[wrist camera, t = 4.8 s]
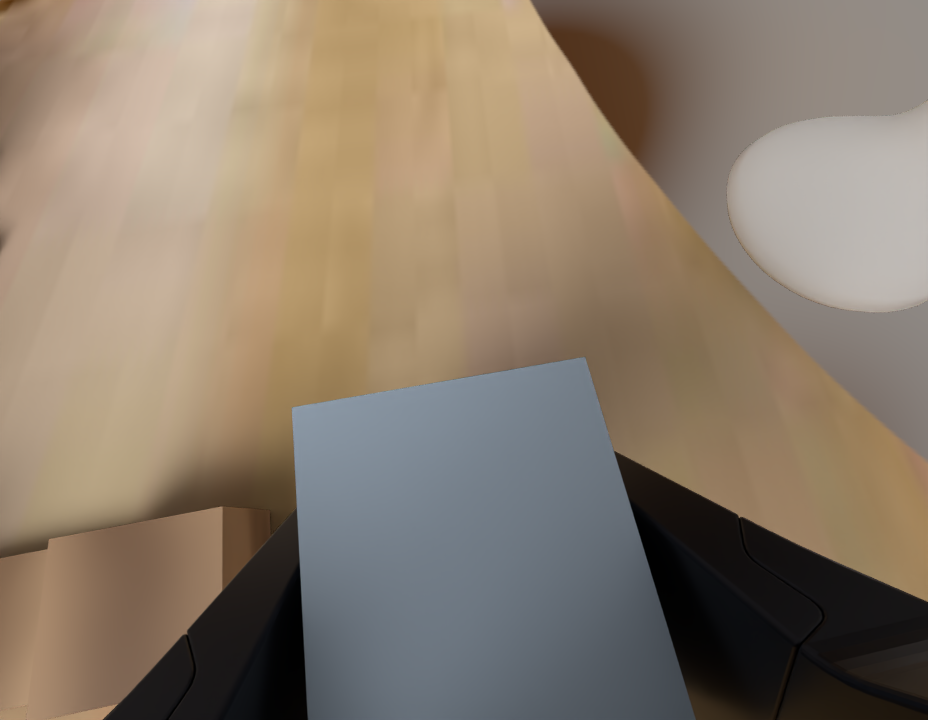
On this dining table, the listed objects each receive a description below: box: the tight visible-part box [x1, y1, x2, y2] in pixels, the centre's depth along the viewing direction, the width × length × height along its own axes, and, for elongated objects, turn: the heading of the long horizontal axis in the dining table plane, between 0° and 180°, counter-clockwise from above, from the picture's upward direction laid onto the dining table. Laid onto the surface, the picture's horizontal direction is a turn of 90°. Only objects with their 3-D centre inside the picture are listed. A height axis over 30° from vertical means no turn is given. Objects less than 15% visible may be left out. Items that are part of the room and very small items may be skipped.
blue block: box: [292, 357, 696, 720], centre depth 11 cm, size 5×4×11 cm
